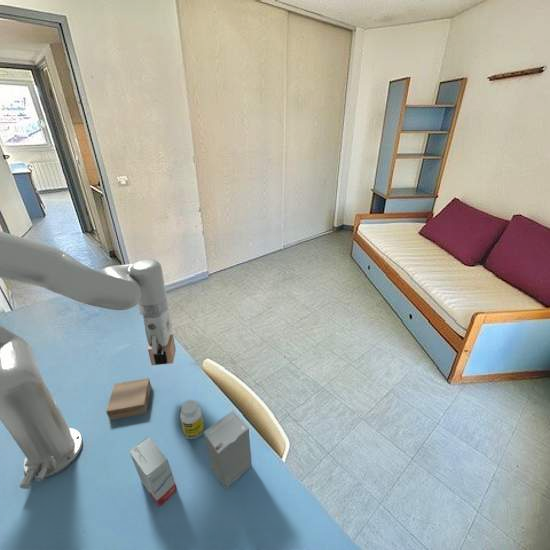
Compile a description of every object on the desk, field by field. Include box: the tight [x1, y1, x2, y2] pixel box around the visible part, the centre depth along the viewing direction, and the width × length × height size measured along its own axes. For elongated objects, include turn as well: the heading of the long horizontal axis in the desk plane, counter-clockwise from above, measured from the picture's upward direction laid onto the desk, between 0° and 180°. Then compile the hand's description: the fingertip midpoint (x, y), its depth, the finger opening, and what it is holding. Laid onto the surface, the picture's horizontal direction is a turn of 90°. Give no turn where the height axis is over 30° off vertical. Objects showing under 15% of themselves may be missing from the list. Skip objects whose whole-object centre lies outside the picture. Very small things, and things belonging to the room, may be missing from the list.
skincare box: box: [203, 410, 252, 490], centre depth 70 cm, size 8×7×16 cm
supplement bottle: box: [179, 400, 205, 440], centre depth 81 cm, size 5×5×10 cm
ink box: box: [129, 436, 178, 507], centre depth 68 cm, size 9×5×12 cm, turn 48°
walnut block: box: [105, 378, 152, 421], centre depth 91 cm, size 10×10×4 cm
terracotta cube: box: [147, 333, 177, 366], centre depth 90 cm, size 6×6×6 cm
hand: (163, 354), depth 91 cm, fingers closed on terracotta cube, 6 cm apart
